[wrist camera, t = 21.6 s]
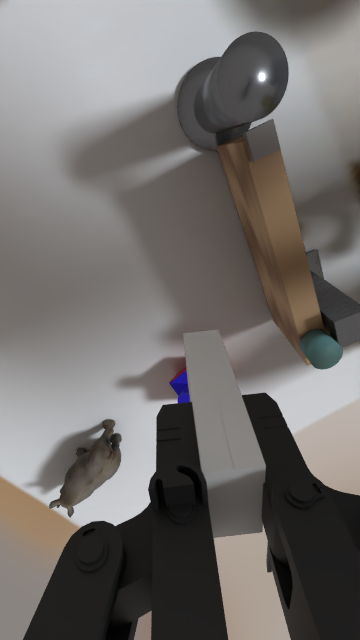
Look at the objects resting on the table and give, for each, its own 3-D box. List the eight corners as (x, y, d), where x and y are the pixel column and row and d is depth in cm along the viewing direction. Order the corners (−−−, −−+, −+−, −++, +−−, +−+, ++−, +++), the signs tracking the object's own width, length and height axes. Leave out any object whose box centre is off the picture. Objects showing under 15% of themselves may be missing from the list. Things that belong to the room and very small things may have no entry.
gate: (212, 142, 25) (245, 133, 16) (240, 128, 25) (290, 112, 16) (272, 321, 33) (316, 381, 24) (293, 312, 33) (346, 369, 24)
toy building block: (203, 352, 37) (190, 370, 29) (226, 381, 37) (218, 407, 29) (180, 370, 38) (161, 391, 30) (202, 398, 37) (188, 427, 30)
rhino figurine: (47, 479, 42) (32, 525, 37) (103, 414, 38) (96, 456, 33) (75, 489, 44) (64, 536, 38) (132, 428, 39) (129, 470, 34)
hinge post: (240, 42, 23) (296, -30, 14) (263, 131, 26) (322, 116, 17) (165, 81, 24) (173, 35, 15) (194, 163, 26) (217, 166, 18)
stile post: (315, 249, 31) (383, 286, 22) (325, 293, 33) (390, 342, 24) (266, 270, 31) (312, 314, 22) (279, 311, 33) (326, 367, 25)
